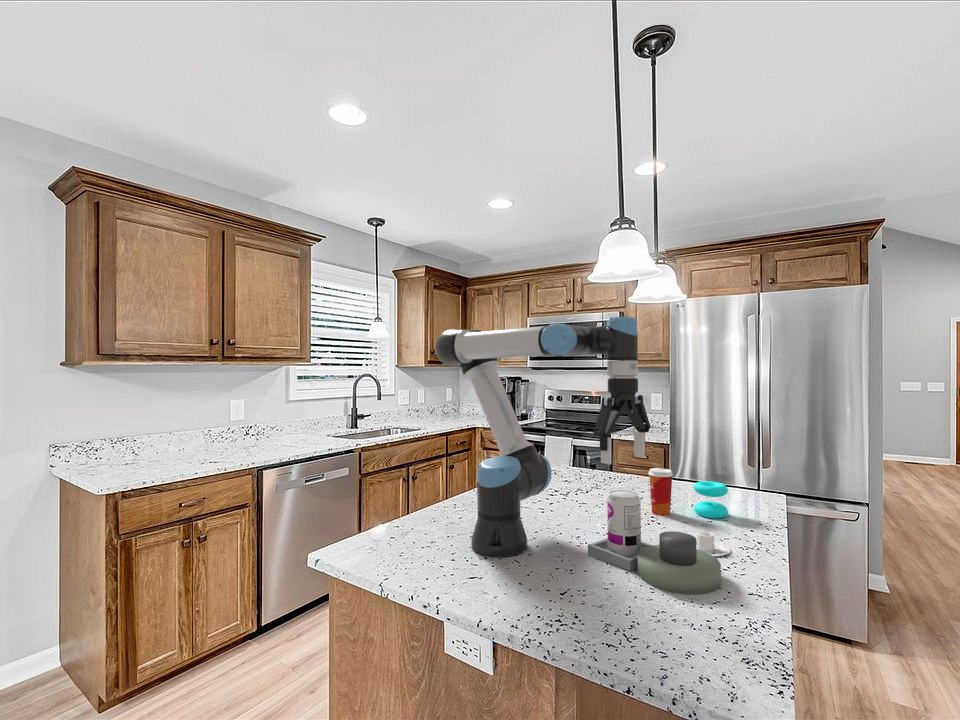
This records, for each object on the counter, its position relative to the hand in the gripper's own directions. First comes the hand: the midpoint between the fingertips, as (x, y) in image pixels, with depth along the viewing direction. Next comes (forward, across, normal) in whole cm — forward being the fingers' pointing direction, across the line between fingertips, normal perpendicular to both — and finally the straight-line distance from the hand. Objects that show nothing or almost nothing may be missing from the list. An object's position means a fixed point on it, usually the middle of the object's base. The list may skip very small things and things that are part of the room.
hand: (623, 460), depth 128 cm
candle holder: (+25, +21, -10) cm, 34 cm away
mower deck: (+25, 0, -9) cm, 26 cm away
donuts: (+25, +50, +4) cm, 56 cm away
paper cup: (+25, +39, +15) cm, 49 cm away
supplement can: (+24, 0, 0) cm, 24 cm away
